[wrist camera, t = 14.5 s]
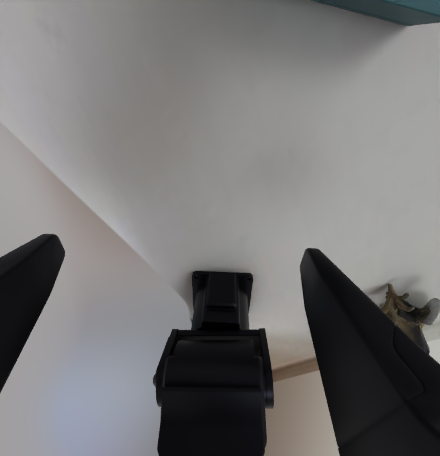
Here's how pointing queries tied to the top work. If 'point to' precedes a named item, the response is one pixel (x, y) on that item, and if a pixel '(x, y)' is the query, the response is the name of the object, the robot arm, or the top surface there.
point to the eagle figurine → (411, 315)
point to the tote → (393, 9)
